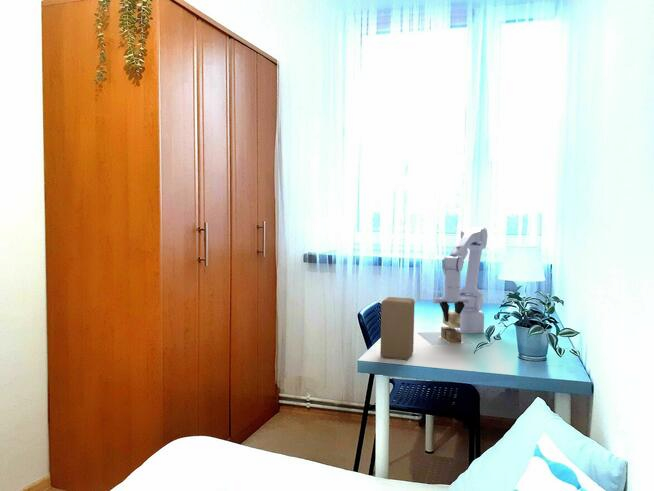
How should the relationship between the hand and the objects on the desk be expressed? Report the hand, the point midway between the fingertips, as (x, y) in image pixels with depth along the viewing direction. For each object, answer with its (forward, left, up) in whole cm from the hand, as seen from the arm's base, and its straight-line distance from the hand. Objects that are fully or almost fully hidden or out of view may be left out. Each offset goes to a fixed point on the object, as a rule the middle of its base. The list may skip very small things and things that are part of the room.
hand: (451, 321), depth 222 cm
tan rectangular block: (0, 0, -2) cm, 2 cm away
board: (+2, -3, -8) cm, 8 cm away
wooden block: (+27, +21, -8) cm, 35 cm away
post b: (0, +3, -7) cm, 8 cm away
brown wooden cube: (0, -3, -7) cm, 8 cm away
